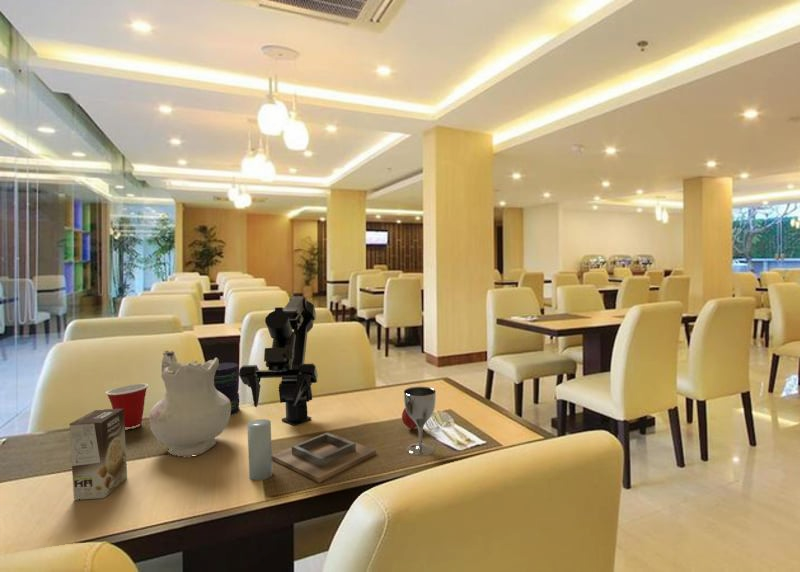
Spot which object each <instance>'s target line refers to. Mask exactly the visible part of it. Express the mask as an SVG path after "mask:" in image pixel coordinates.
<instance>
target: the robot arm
mask: <svg viewBox="0 0 800 572" xmlns="http://www.w3.org/2000/svg"><path fill="white" fill-rule="evenodd" d="M316 318H317V313H316V307H315V305H314V303H312V302H310V301H308V299H307V296H304V295H303V296H300V295H299V296H298V295H297V296H290V297H289V300H288V302H287V303H286V305H285V306H284V307H282V306H281V307H279V306H278V307H276V306H275V307H274V311H271V312H269V313H268V314H267V315H266V317H265V319H264V320H265V321H264V322H265V325H266V328H267V330H268V332H269V336H270V338H271V339H272V344H271V347H265V348H264V354H263V356H264V358H263V361H264V362H265V366H266V368H268V369H264V370H263V369H262V370H261V369H259V367H258V366H257V364H251V365H249V364H248V365H247V364H246V365H242V366H241V367H240V368H239V370H238V371H239V372H238V377H239V378H240V380H241V381H242V383H243V384H244V385H247V387H248V388H250V389H251V394H252V395H251V396H252V400H253V407H255V408H257V407H258V405H259V400H260V399H259V398H260V392H261V384H260V383H261V379H270V378H271V379H272V378H275V379H276V378H278V379H279V378H281V381H280V382H279V385H278V394H279V401H280V404H282V403H285V417H283V418H281V421H282V422H284V423H288V424H290V425H293V426H297V425H299V424H302V423H305V422H308V421H310V420H312V416H308V415H309V414H308V405H307V403H309V402H310V401H312V400H313V392H312V384H316V383H317V382H318V376H319V375H318V370H317V367H316V365H315V363H305V361H306V360H305V358H306V350H307V340H308V333H309V332H310V331H311V330H312V329H313V327H314V322H315V321H316Z"/></svg>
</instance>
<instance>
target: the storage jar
mask: <svg viewBox="0 0 800 572" xmlns="http://www.w3.org/2000/svg"><path fill="white" fill-rule="evenodd" d="M238 368H239V367H238V364H237V363H236V362H219V365H218V368H217V370H216V372H215V375H214V386H215V388H216V390H218V391H219V392H221V393H222V394H224V395H225V396H226V397H227V398H228V399H229V400H230V402H231V414H230V416H233V415H235V414H234V413H236V412H237V413H239V412H240V394H239V389H238V388H239V386H238V384H239V372H238V371H239V370H238ZM238 411H239V412H238ZM237 413H236V414H237ZM232 414H233V415H232Z"/></svg>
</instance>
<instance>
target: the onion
mask: <svg viewBox="0 0 800 572" xmlns="http://www.w3.org/2000/svg"><path fill="white" fill-rule="evenodd" d="M401 420H402V422H403V424H404V425H405V426H406V427H407V428H409V429H410V430H415V429H416V428H417V425H416V424H415V422H414V421H413V420H412V419H411V418H410V417H409V415H408V414H407V411H406V408H405V407H404V408H403V411H402V413H401Z"/></svg>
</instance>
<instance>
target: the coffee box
mask: <svg viewBox="0 0 800 572" xmlns="http://www.w3.org/2000/svg"><path fill="white" fill-rule="evenodd" d="M69 441H70V453H71V470H72V472H71V473H72V475H71V476H72V487H73V488H72V490H73V500H74V499H75V500H74V501H80V500H95V499H97V500H98V499H105V498H106V497H107V496H108V495H109V494H111V493H112V492H113V491H114V490H116V488H117V487H118V486H120V485H121V484H120V483H121V482H122V483H123V482H124V481H125V480H126V479H127V478H128V469H127V468H128V467H127V465H128V464H127V450H126V445H127V444H126V433H125V427H124V409H113V408H107V409H95V410H93V411H91V412H89V413H88V414H85V415H84V416H82V417H80V418H78V419H76V420H74V421H72V422H70V423H69ZM79 499H80V500H79Z"/></svg>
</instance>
